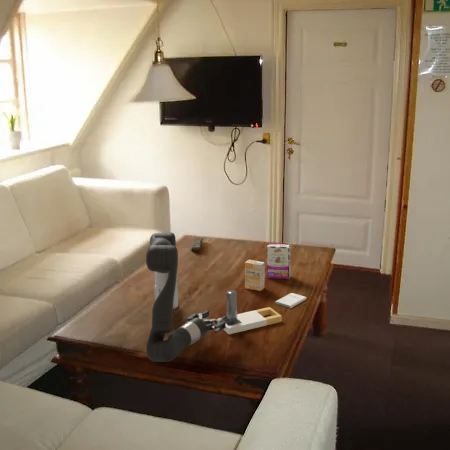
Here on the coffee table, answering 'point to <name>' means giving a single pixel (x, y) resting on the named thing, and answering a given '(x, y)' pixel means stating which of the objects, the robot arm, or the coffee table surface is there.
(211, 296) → the coffee table surface
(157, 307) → the robot arm
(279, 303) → the external hard drive
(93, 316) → the coffee table surface
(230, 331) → the rail
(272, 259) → the candy bar box
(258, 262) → the supplement box
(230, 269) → the coffee table surface
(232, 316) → the peg
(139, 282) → the coffee table surface
